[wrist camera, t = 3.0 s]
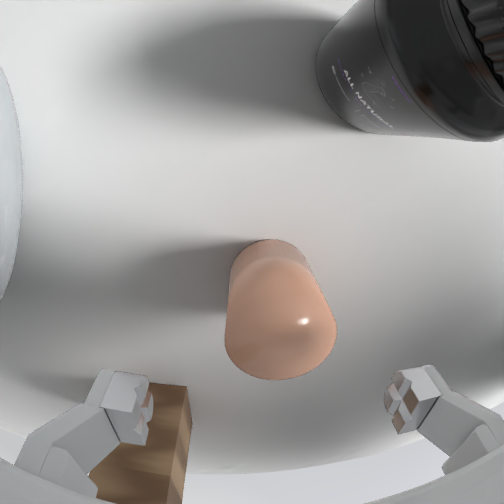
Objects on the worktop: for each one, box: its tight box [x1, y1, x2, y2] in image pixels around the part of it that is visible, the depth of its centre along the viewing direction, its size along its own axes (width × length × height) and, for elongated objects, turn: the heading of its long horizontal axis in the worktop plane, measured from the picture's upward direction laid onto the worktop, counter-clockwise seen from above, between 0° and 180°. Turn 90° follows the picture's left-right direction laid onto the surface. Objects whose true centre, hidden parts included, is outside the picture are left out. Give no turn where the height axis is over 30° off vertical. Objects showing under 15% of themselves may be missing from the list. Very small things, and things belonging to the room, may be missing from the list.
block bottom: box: [147, 382, 192, 458], centre depth 19 cm, size 5×5×4 cm
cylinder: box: [225, 240, 337, 380], centre depth 14 cm, size 5×5×6 cm
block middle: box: [102, 423, 187, 500], centre depth 15 cm, size 5×5×4 cm
